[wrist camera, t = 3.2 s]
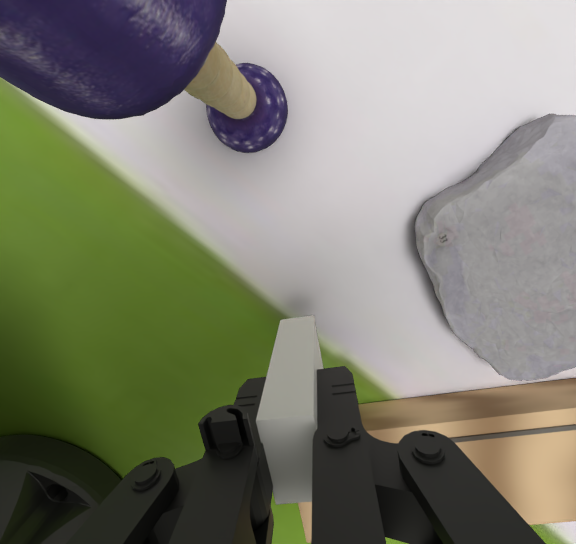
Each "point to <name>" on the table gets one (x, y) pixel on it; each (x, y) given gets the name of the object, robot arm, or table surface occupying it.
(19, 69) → the toy lamp
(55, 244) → the table surface
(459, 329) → the stone block
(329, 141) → the table surface
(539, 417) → the oak board
